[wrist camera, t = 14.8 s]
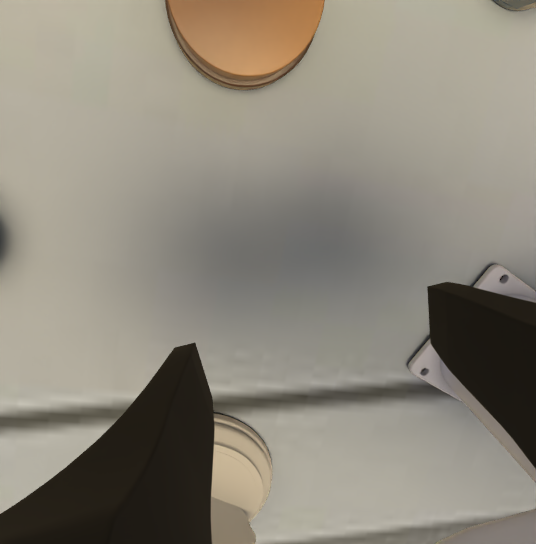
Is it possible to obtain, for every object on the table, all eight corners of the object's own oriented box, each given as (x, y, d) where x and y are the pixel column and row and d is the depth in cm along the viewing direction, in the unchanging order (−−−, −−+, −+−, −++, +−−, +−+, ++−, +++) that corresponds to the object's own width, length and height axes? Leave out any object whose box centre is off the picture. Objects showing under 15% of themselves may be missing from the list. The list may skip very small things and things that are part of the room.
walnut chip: (338, -8, 17) (350, -20, 16) (261, 118, 18) (266, 117, 17) (217, -116, 15) (217, -141, 14) (142, 32, 17) (135, 23, 15)
